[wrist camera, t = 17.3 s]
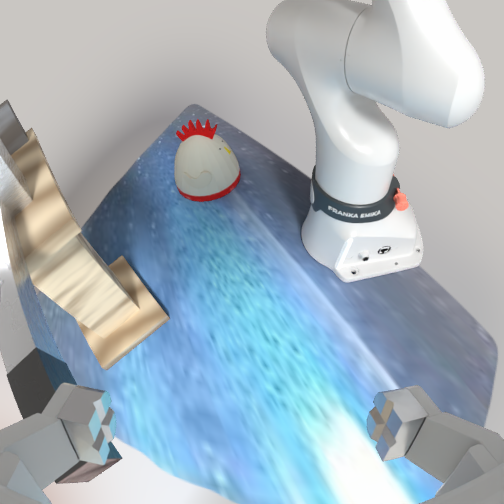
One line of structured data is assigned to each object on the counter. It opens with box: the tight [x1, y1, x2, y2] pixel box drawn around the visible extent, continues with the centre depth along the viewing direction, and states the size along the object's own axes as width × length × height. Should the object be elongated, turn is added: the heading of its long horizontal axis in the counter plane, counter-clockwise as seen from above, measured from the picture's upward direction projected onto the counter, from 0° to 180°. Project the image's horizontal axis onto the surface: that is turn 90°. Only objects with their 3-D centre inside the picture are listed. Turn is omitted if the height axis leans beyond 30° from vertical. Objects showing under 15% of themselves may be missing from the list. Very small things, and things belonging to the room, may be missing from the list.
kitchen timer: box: [175, 119, 241, 202], centre depth 59 cm, size 14×14×15 cm
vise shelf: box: [0, 100, 170, 370], centre depth 34 cm, size 24×14×37 cm, turn 42°
